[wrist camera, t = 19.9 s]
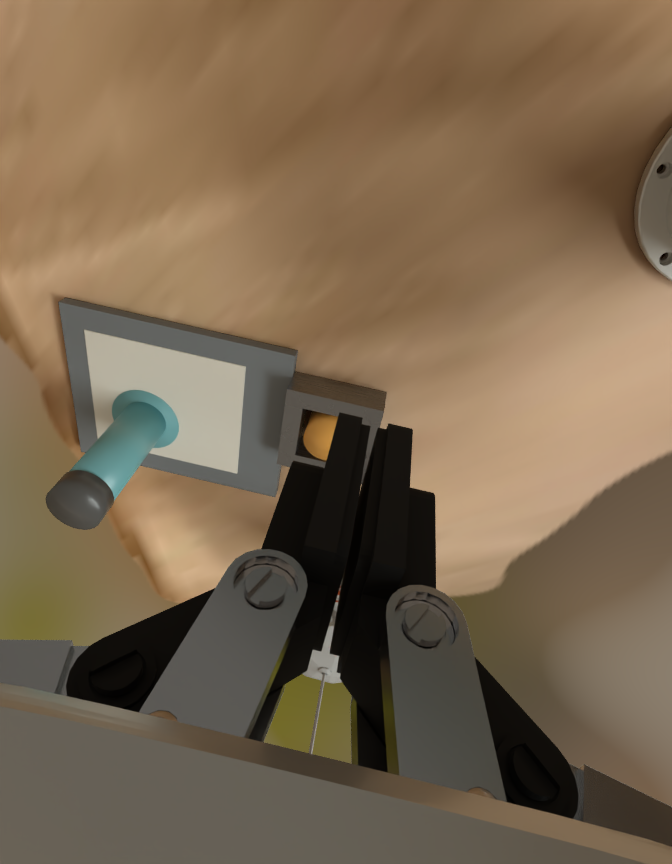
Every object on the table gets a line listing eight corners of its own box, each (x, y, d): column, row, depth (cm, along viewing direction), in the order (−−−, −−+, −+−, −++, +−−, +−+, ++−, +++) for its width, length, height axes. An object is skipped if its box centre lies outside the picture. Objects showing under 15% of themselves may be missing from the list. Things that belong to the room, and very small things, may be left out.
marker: (166, 406, 47) (97, 495, 37) (167, 442, 50) (103, 534, 40) (121, 396, 47) (41, 482, 38) (125, 433, 50) (50, 522, 40)
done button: (358, 408, 45) (354, 428, 43) (349, 444, 48) (345, 465, 45) (313, 398, 45) (306, 417, 43) (307, 434, 48) (300, 454, 45)
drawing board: (297, 350, 43) (294, 357, 42) (277, 490, 53) (274, 498, 52) (65, 297, 44) (57, 302, 43) (86, 445, 53) (80, 452, 52)
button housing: (386, 392, 44) (384, 411, 42) (367, 463, 49) (363, 484, 47) (294, 371, 44) (287, 389, 42) (284, 444, 49) (276, 464, 47)
